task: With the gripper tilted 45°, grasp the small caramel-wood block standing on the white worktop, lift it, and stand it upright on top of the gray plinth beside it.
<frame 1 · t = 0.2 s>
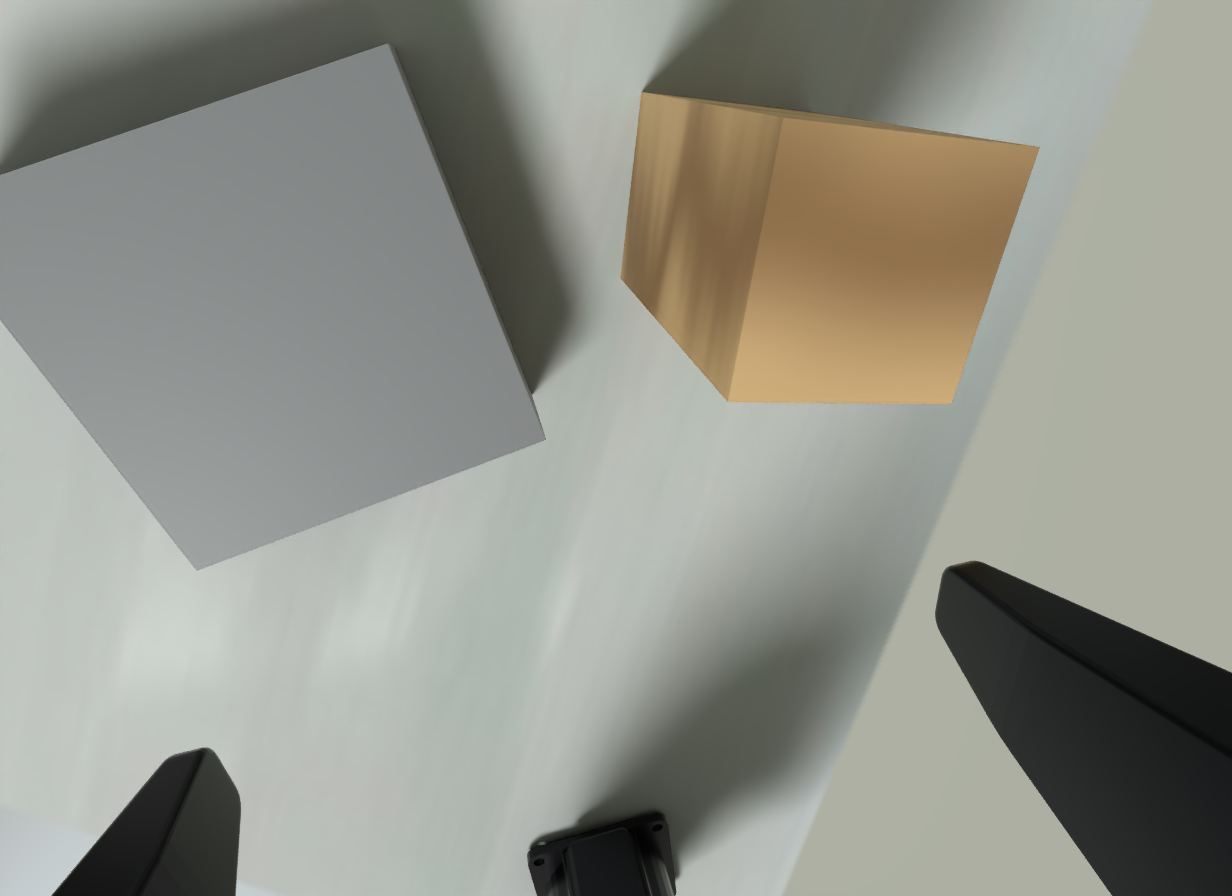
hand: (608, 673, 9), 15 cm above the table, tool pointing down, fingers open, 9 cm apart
gray plinth: (298, 304, 20), on the table
caramel block: (713, 196, 21), on the table
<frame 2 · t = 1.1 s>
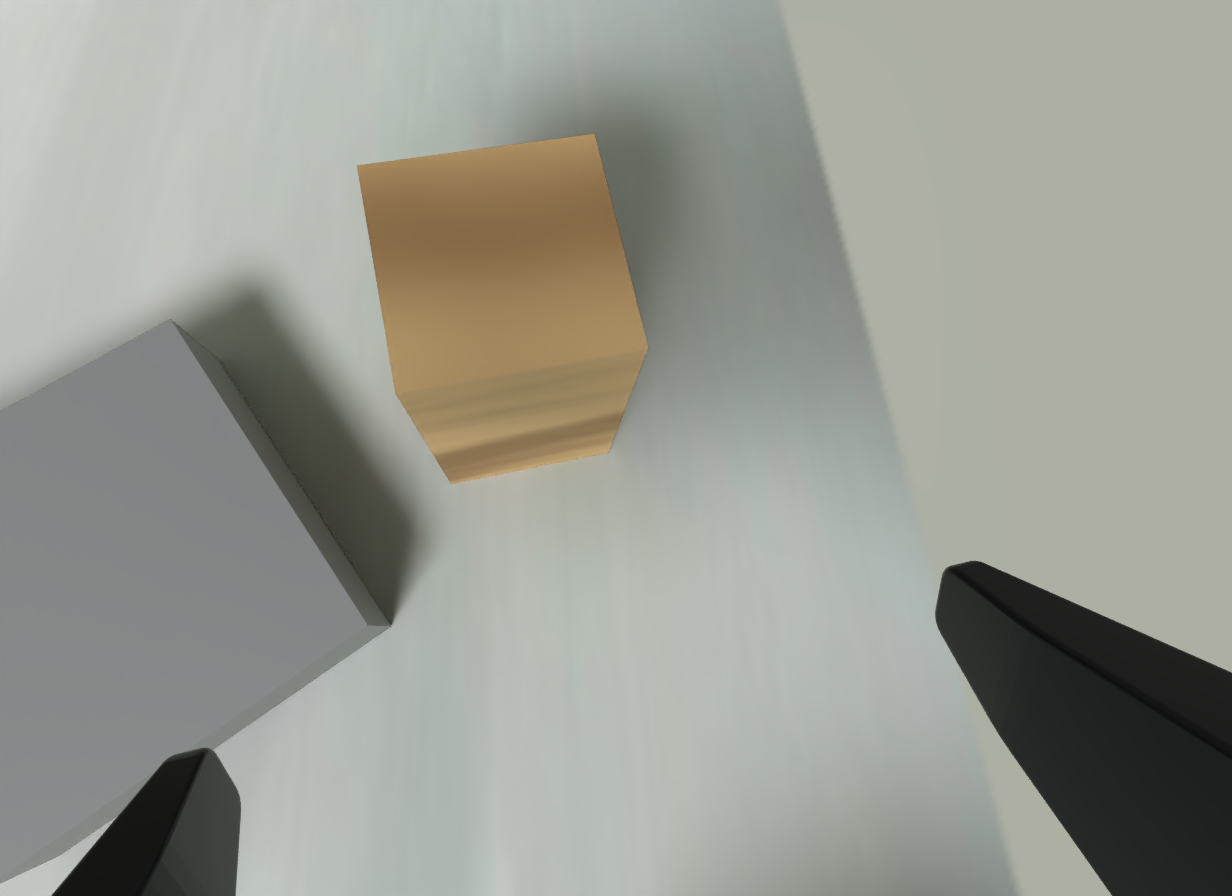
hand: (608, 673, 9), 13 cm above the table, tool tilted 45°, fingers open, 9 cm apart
gray plinth: (144, 586, 21), on the table
caramel block: (515, 393, 24), on the table
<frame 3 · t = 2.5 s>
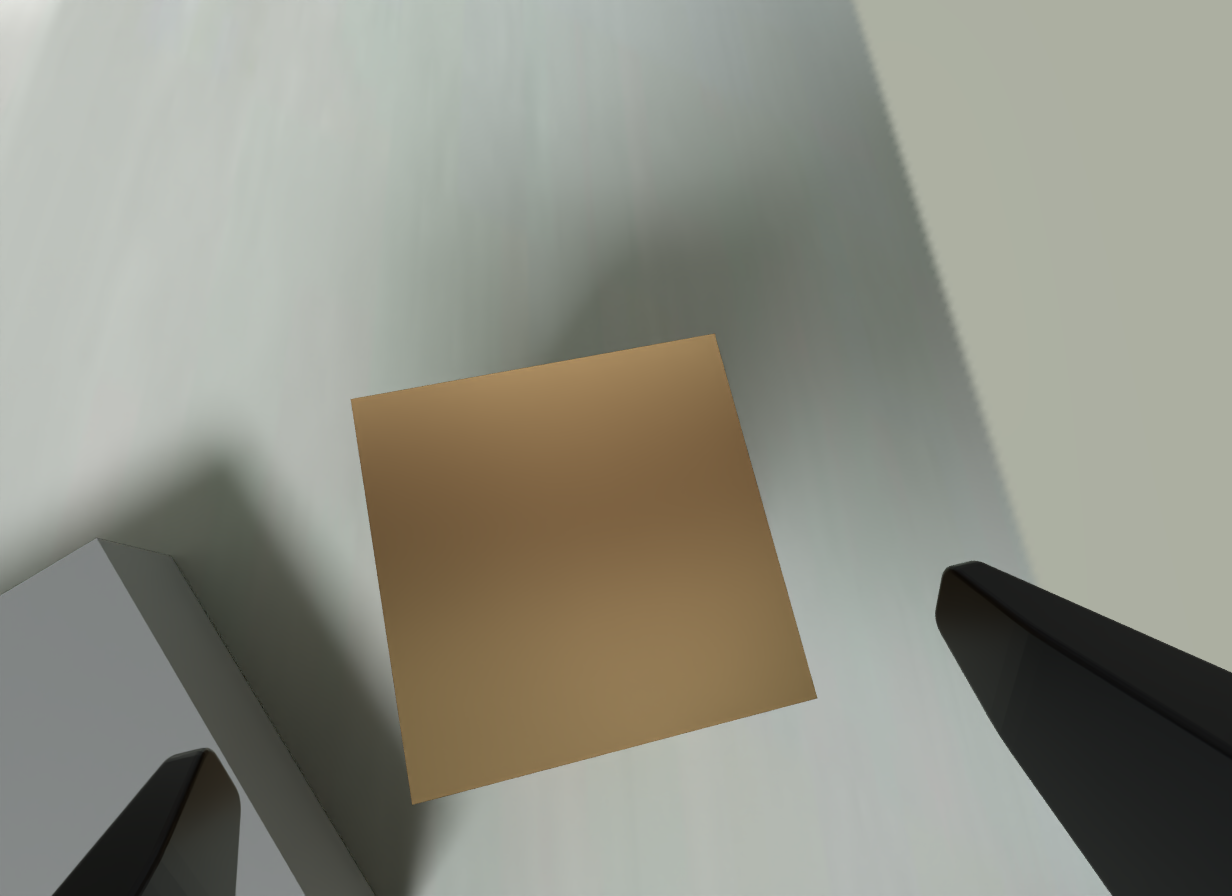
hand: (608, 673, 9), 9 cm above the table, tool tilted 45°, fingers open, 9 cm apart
gray plinth: (63, 888, 15), on the table
caramel block: (562, 593, 18), on the table
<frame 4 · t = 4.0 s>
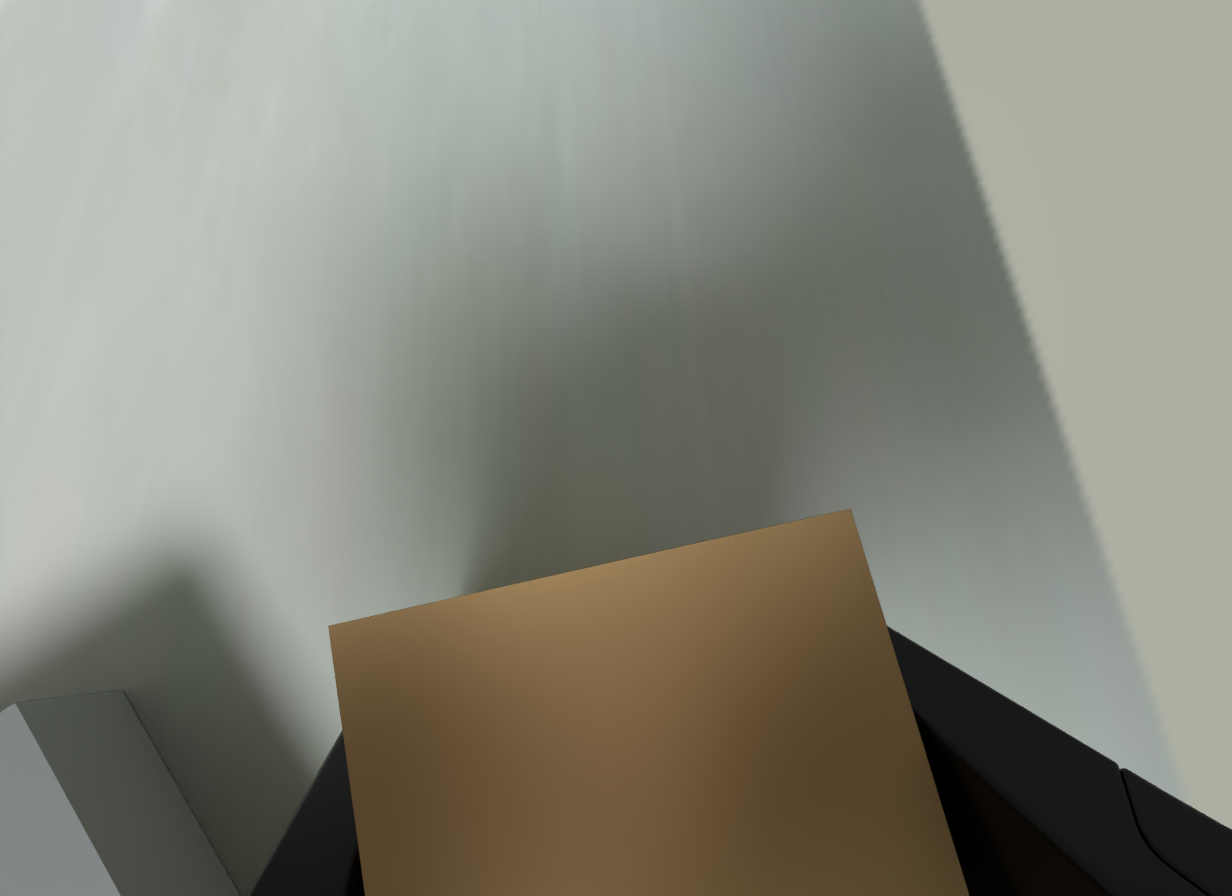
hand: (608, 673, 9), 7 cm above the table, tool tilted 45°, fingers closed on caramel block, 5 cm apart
caramel block: (595, 727, 15), on the table, touching gripper
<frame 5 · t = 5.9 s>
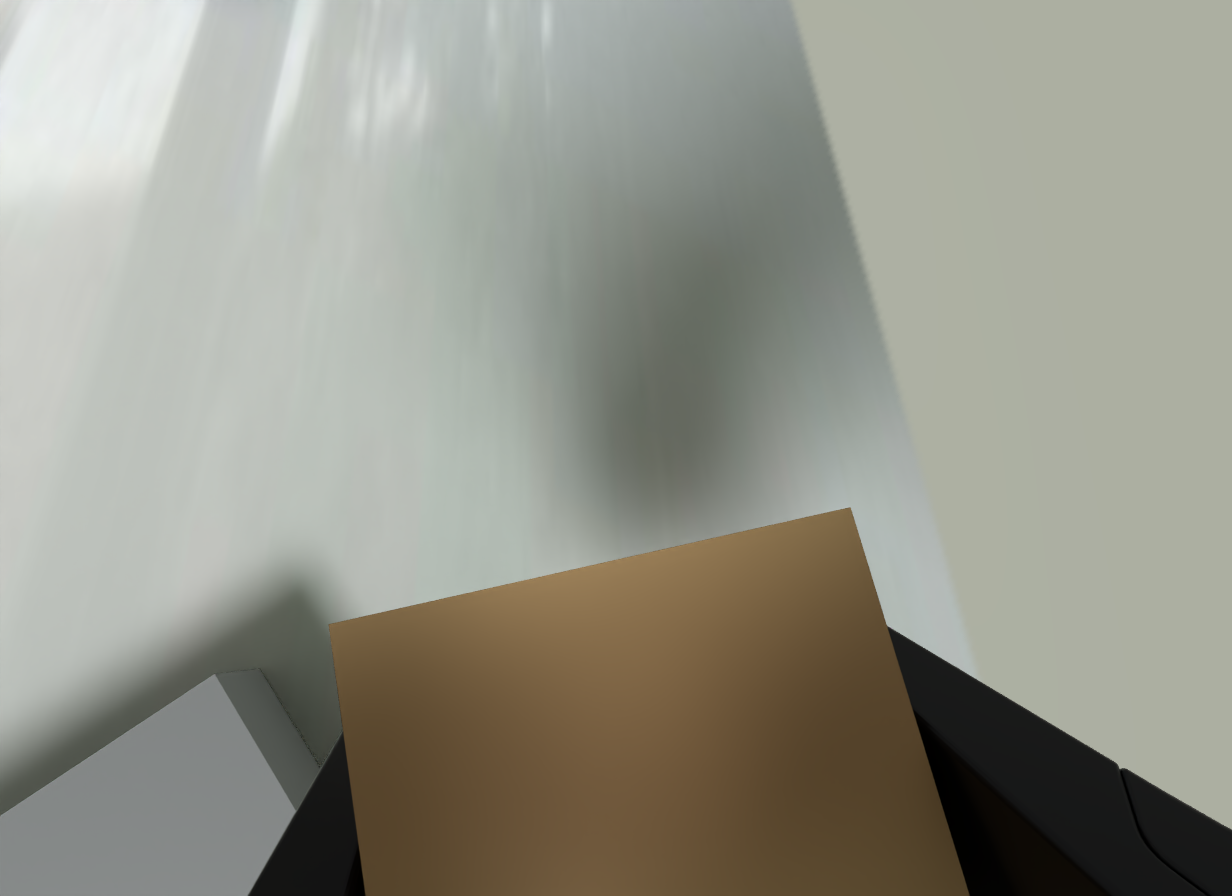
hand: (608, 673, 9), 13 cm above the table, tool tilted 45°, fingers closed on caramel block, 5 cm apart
caramel block: (595, 727, 15), point 7 cm above the table, touching gripper
when the fingers open (11 cm above the table, at t = 8.0 s): caramel block drops 1 cm, resting on gray plinth.
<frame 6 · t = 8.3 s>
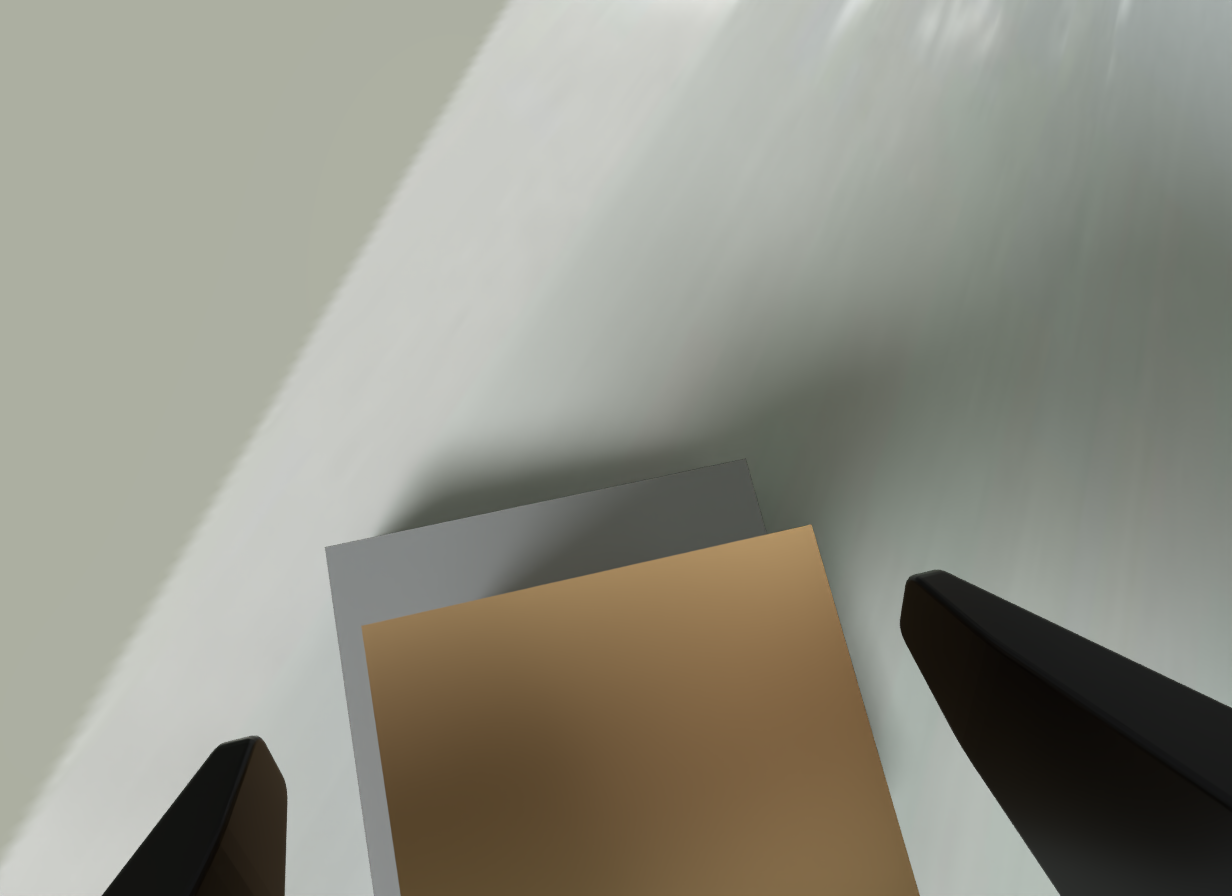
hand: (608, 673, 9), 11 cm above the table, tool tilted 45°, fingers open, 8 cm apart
gray plinth: (583, 708, 19), on the table
caramel block: (592, 720, 16), point 3 cm above the table, touching gray plinth
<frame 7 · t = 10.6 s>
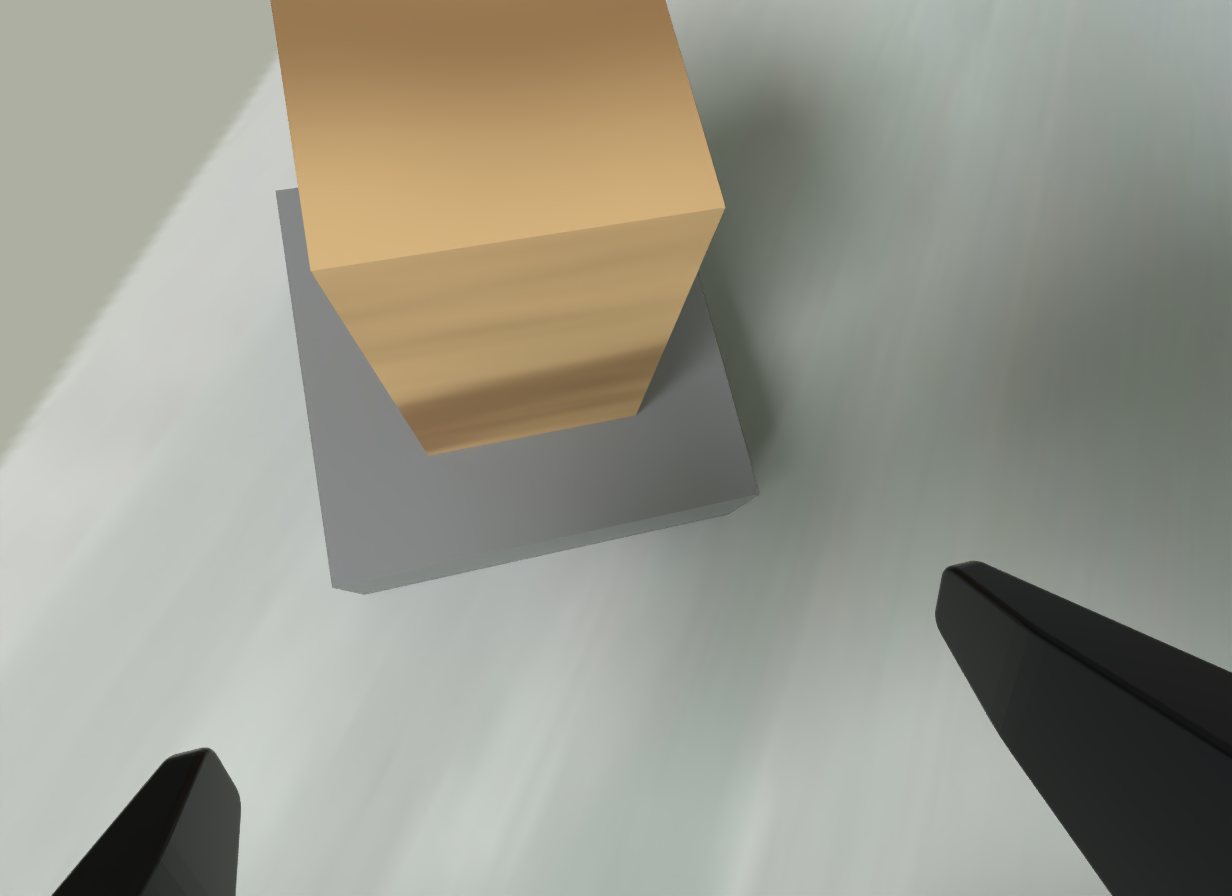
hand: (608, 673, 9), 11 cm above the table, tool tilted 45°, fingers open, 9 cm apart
gray plinth: (516, 380, 21), on the table
caramel block: (513, 338, 18), point 3 cm above the table, touching gray plinth
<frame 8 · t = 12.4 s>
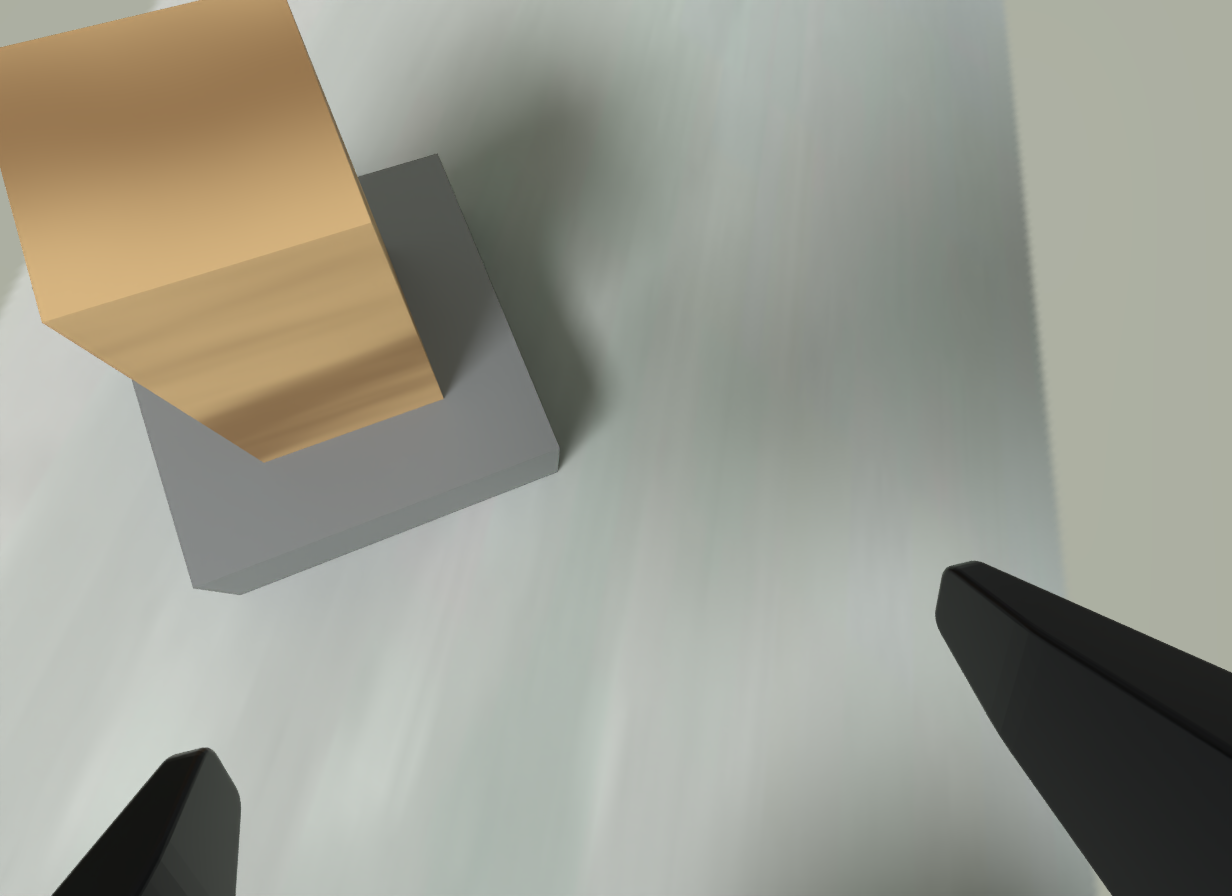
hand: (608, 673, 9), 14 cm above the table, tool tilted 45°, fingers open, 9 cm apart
gray plinth: (353, 386, 23), on the table
caramel block: (327, 350, 21), point 3 cm above the table, touching gray plinth
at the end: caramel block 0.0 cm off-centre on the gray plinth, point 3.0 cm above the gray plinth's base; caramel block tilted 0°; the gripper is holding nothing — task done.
